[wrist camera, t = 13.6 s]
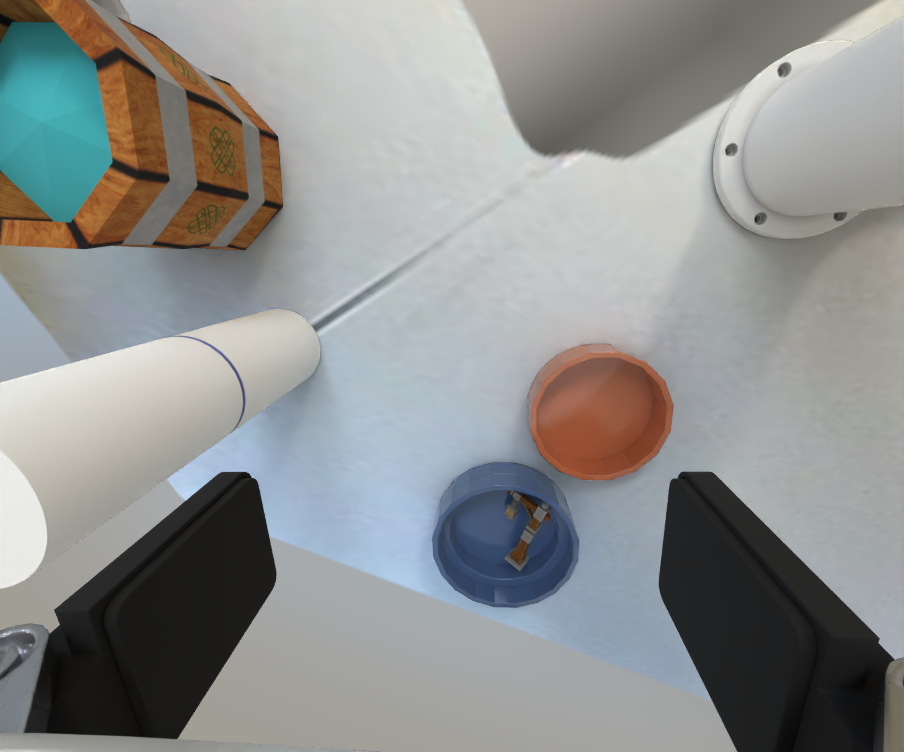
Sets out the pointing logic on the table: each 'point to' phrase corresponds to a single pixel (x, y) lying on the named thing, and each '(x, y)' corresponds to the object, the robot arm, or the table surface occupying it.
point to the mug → (122, 138)
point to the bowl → (503, 537)
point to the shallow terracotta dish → (599, 412)
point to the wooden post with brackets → (541, 513)
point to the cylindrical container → (131, 425)
